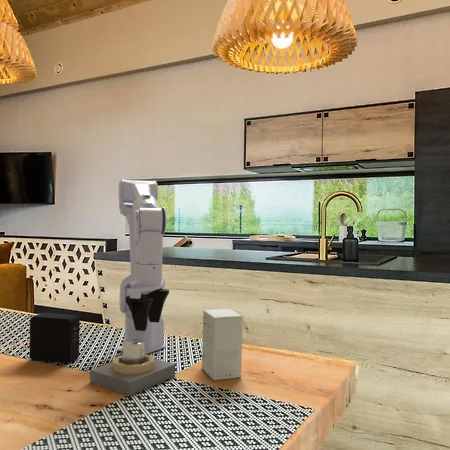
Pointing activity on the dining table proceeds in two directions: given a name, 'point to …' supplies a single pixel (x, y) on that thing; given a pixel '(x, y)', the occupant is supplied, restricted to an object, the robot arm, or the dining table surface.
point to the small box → (222, 343)
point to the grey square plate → (132, 375)
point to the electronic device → (54, 337)
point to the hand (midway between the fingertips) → (147, 326)
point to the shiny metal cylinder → (133, 352)
